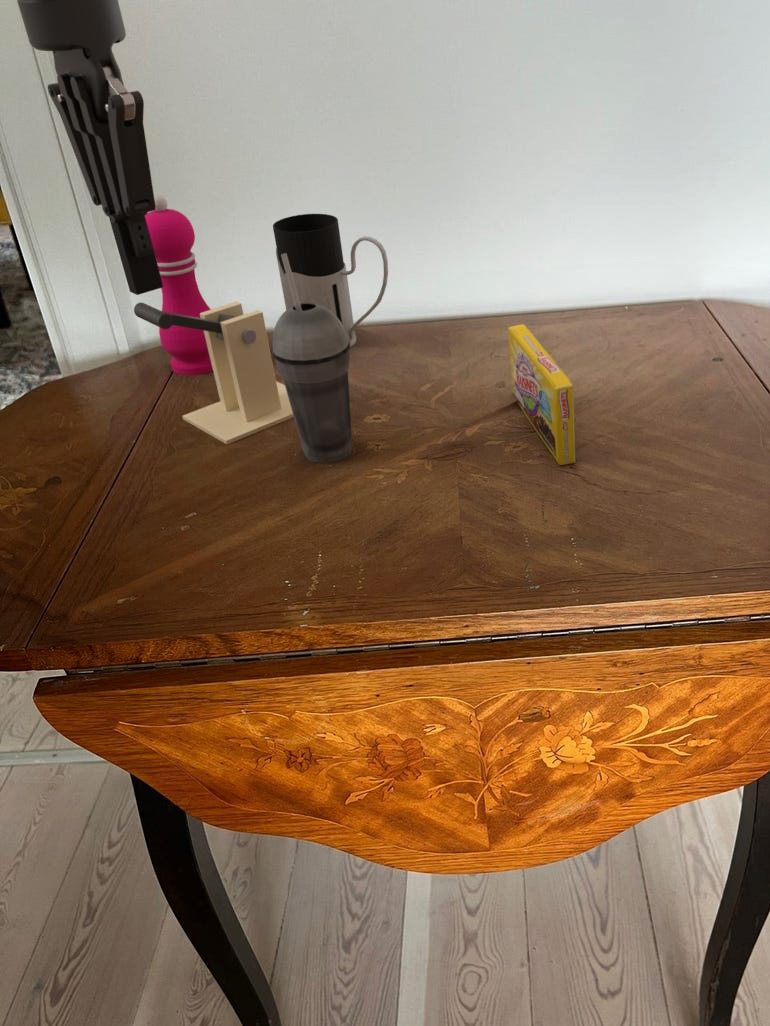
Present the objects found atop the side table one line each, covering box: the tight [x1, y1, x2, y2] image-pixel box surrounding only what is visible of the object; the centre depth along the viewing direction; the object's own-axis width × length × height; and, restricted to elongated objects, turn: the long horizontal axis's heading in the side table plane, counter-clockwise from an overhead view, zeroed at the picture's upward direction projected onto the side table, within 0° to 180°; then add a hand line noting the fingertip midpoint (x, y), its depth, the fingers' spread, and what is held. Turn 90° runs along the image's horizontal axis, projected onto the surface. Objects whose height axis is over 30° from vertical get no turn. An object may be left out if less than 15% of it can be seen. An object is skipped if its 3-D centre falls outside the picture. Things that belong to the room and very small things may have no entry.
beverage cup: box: [271, 253, 353, 464], centre depth 89 cm, size 7×7×20 cm
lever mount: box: [181, 301, 294, 445], centre depth 100 cm, size 12×9×12 cm
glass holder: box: [272, 213, 389, 348], centre depth 113 cm, size 9×14×15 cm, turn 70°
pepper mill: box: [145, 194, 213, 376], centre depth 109 cm, size 7×7×20 cm
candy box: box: [508, 323, 576, 466], centre depth 96 cm, size 16×2×8 cm, turn 14°
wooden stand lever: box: [133, 302, 235, 341], centre depth 95 cm, size 11×5×2 cm, turn 134°
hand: (146, 289), depth 89 cm, fingers closed
